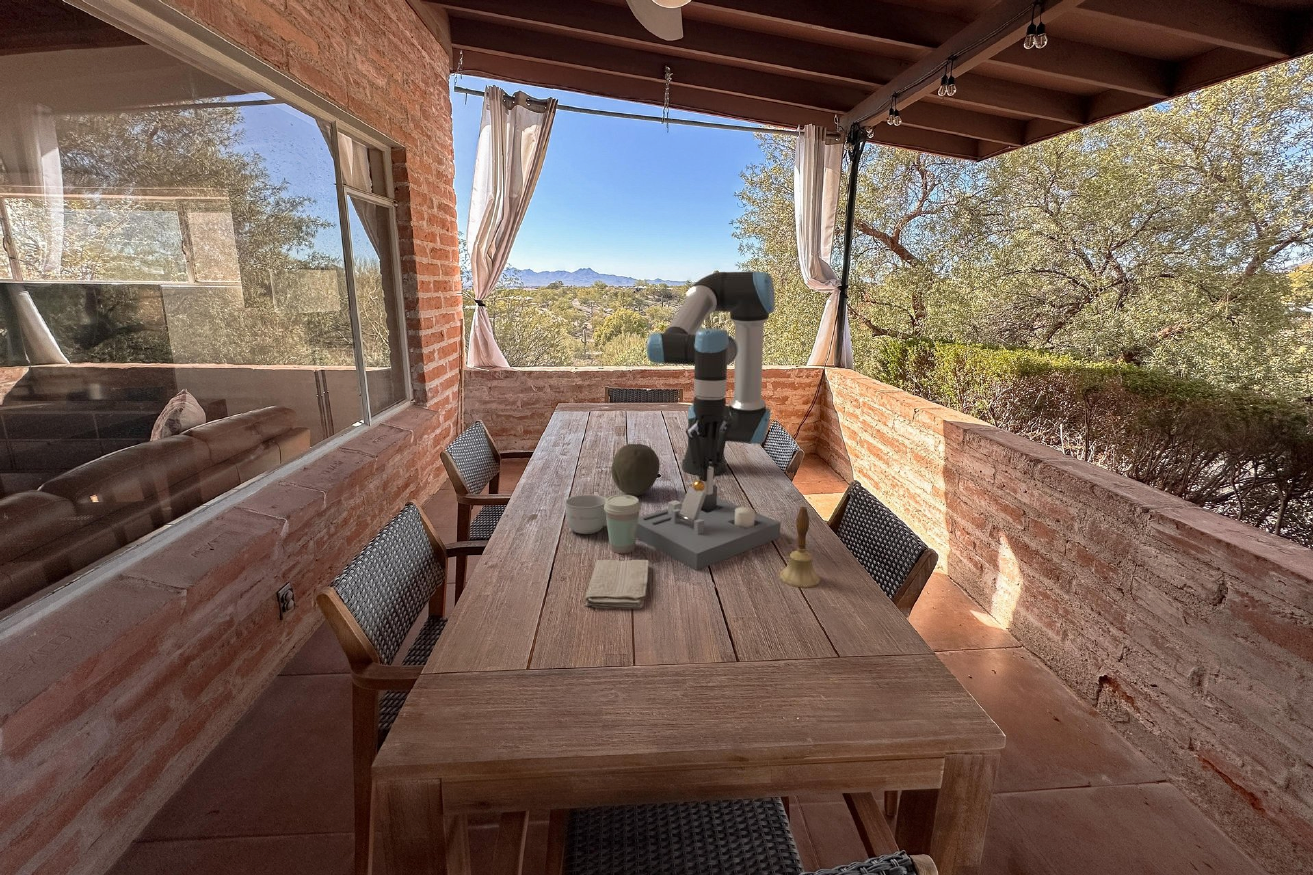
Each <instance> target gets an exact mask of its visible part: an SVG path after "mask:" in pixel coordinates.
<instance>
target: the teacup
mask: <svg viewBox="0 0 1313 875" xmlns="http://www.w3.org/2000/svg"><path fill="white" fill-rule="evenodd" d="M607 498H608V497H605V496H602V495H599V494H598V495H597V494H579V495H574V496H570V497H568V498H566V499H565V500H564V505H565V506H564V508H565V509H564V510H565V521H566V524H567V526H568V527H569V529H571V530H572V531H573V532H575V533H577V534H581V535H582V534H583V535H589V534H591V535H592V534H595V533H597V532H599V531H601V529H602V528H604V526H607V520H606V512H605V510H604V505H605V503H606V500H607Z"/></svg>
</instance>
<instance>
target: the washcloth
mask: <svg viewBox="0 0 1313 875" xmlns="http://www.w3.org/2000/svg"><path fill="white" fill-rule="evenodd" d="M649 568H650V567H649V560H648V559H647V560H646V559H630V560H618V559H597V561H595V564H594V568H593V572H592V575H591V576H590V578H591V579H590V580H589V584H588V587H587V590H586V593H585V597H584V600H585V601H586V602H585V607H586V608H588V607H591V608H597V609H622V610H623V609H625V610H628V609H629V610H638V609H642V608H643V607H644V605H645V600H646V598H647V587H648V575H649Z"/></svg>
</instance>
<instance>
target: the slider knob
mask: <svg viewBox="0 0 1313 875" xmlns="http://www.w3.org/2000/svg"><path fill="white" fill-rule="evenodd" d="M682 504H683V503H682V502H681V501H678V500H671V501H668V502H667V509H668V514H670V515H671V510H675V509H680V510H681V508H682Z"/></svg>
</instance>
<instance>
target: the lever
mask: <svg viewBox="0 0 1313 875" xmlns="http://www.w3.org/2000/svg"><path fill="white" fill-rule="evenodd" d="M687 488H688V489H687V491H686V494H685V496H684V500H683V503H682V504H683V505H682V508H681V511H680V513H678V514H677V517H678V518H680V519H682V520H684V521H686V522H688V523H691V524H693V525H694V521H695V520H697V519H698V516H699V513H700V510H701V508H702V505H703V502H704V499H705V496H706V492H703V490H704V488H705V485H704V483H703V482H702V481H701V480H696V481H694V482H693V484H692V486H690V485H689V486H688V487H687Z"/></svg>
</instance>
